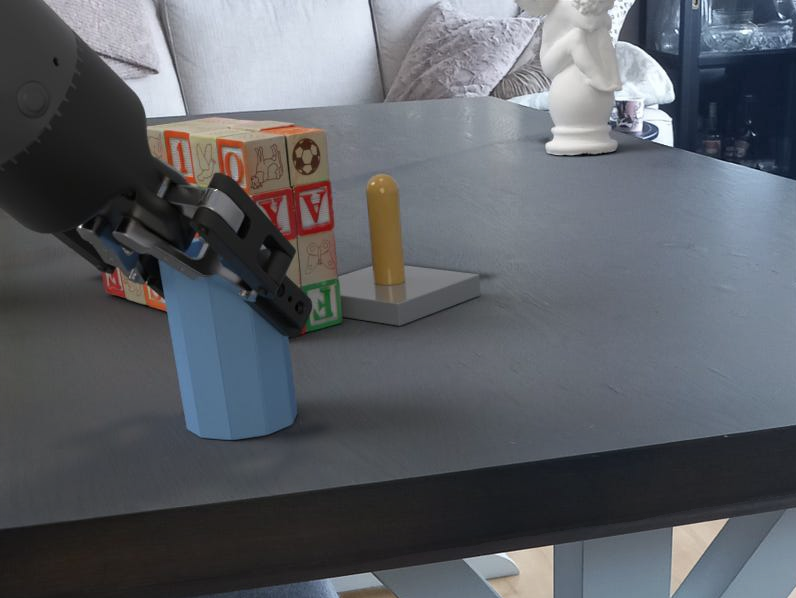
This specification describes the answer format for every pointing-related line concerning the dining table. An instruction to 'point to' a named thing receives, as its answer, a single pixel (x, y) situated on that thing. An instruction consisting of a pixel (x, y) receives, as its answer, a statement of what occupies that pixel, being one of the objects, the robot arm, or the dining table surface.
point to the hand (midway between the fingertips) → (251, 313)
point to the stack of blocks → (260, 196)
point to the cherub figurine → (578, 72)
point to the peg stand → (397, 270)
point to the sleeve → (226, 359)
